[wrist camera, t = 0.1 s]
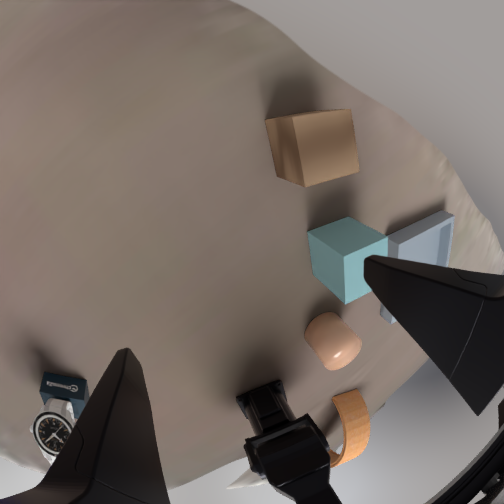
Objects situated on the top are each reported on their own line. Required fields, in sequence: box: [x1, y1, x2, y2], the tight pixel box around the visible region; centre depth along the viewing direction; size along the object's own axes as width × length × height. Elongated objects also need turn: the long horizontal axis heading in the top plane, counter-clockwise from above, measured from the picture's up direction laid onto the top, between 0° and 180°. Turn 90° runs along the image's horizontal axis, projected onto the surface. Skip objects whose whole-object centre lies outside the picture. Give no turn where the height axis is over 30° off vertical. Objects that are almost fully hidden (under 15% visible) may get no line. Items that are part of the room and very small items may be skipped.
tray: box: [380, 210, 455, 324], centre depth 33 cm, size 13×13×2 cm
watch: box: [30, 372, 90, 465], centre depth 19 cm, size 6×8×11 cm
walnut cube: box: [265, 109, 359, 187], centre depth 20 cm, size 5×5×5 cm
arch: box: [328, 389, 370, 468], centre depth 42 cm, size 6×20×10 cm, turn 169°
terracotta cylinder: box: [305, 312, 362, 370], centre depth 30 cm, size 5×5×5 cm
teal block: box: [307, 216, 388, 304], centre depth 25 cm, size 5×5×6 cm
